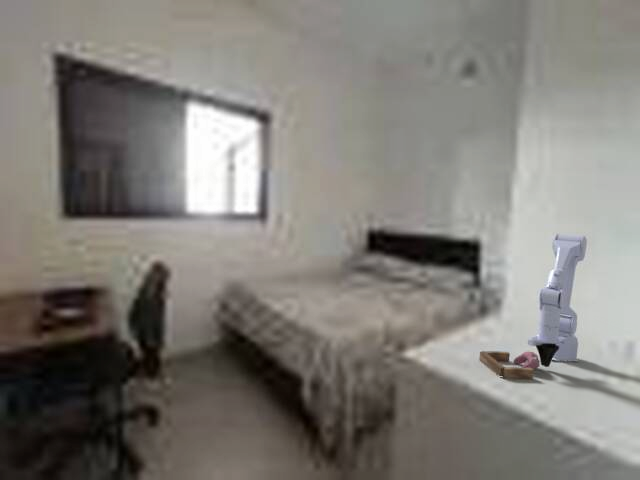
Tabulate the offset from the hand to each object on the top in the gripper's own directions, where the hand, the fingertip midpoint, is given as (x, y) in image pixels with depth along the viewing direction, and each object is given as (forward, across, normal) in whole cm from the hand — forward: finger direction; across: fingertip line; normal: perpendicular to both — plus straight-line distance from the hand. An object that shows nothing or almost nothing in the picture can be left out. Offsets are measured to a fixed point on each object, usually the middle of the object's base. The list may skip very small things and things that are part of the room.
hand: (545, 365), depth 142 cm
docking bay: (+1, +13, -4) cm, 14 cm away
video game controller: (+2, +6, -2) cm, 6 cm away
